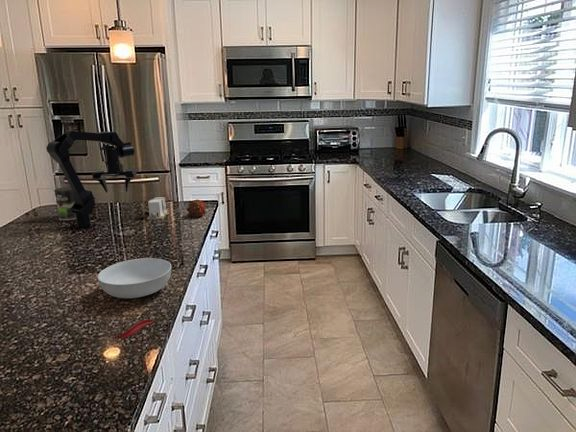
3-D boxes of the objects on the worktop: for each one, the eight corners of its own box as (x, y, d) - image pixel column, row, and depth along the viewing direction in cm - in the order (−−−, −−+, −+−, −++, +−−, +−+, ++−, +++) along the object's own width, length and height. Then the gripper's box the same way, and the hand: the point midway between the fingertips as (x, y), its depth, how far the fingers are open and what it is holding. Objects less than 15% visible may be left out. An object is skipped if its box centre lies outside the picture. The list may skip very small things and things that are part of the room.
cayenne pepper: (115, 342, 113) (114, 335, 112) (109, 335, 116) (108, 328, 116) (163, 326, 120) (162, 320, 119) (155, 320, 123) (155, 313, 123)
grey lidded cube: (160, 216, 218) (159, 202, 216) (149, 217, 218) (148, 202, 216) (162, 213, 224) (161, 198, 222) (152, 213, 224) (150, 199, 222)
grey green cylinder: (71, 221, 219) (67, 191, 215) (53, 219, 222) (49, 190, 218) (86, 215, 228) (82, 187, 225) (69, 214, 231) (65, 186, 227)
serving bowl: (147, 272, 155) (144, 253, 153) (187, 288, 142) (185, 266, 140) (86, 294, 139) (83, 273, 137) (126, 314, 126) (123, 290, 124)
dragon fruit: (198, 222, 216) (194, 220, 227) (212, 210, 217) (207, 208, 229) (186, 209, 213) (182, 207, 224) (200, 196, 215) (195, 195, 226)
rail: (162, 219, 217) (160, 204, 215) (147, 220, 216) (145, 205, 214) (168, 210, 232) (166, 197, 230) (153, 211, 232) (152, 197, 230)
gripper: (137, 155, 225) (140, 187, 229) (97, 157, 224) (101, 189, 228) (131, 159, 214) (135, 192, 218) (89, 161, 213) (94, 194, 217)
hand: (117, 192), depth 221 cm, fingers open, 9 cm apart
